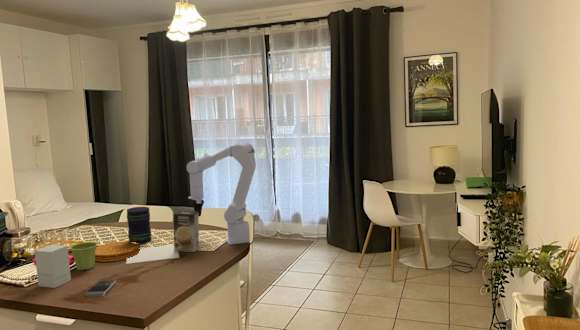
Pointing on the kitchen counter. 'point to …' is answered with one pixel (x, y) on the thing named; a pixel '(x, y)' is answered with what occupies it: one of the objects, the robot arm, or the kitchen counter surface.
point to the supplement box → (52, 266)
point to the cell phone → (100, 288)
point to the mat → (154, 254)
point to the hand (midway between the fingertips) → (198, 216)
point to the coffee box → (186, 231)
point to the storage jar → (139, 225)
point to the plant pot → (84, 255)
